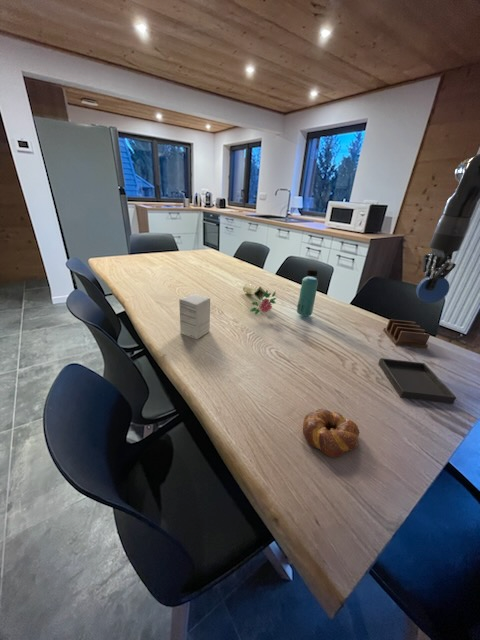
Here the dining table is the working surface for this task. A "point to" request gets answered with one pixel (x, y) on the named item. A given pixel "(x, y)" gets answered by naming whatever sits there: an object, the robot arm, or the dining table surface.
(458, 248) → the robot arm
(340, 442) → the braided bread ring
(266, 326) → the dining table surface
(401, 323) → the rack
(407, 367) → the tray
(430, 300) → the disc
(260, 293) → the flower vase
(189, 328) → the white packaging box
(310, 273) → the beverage bottle
